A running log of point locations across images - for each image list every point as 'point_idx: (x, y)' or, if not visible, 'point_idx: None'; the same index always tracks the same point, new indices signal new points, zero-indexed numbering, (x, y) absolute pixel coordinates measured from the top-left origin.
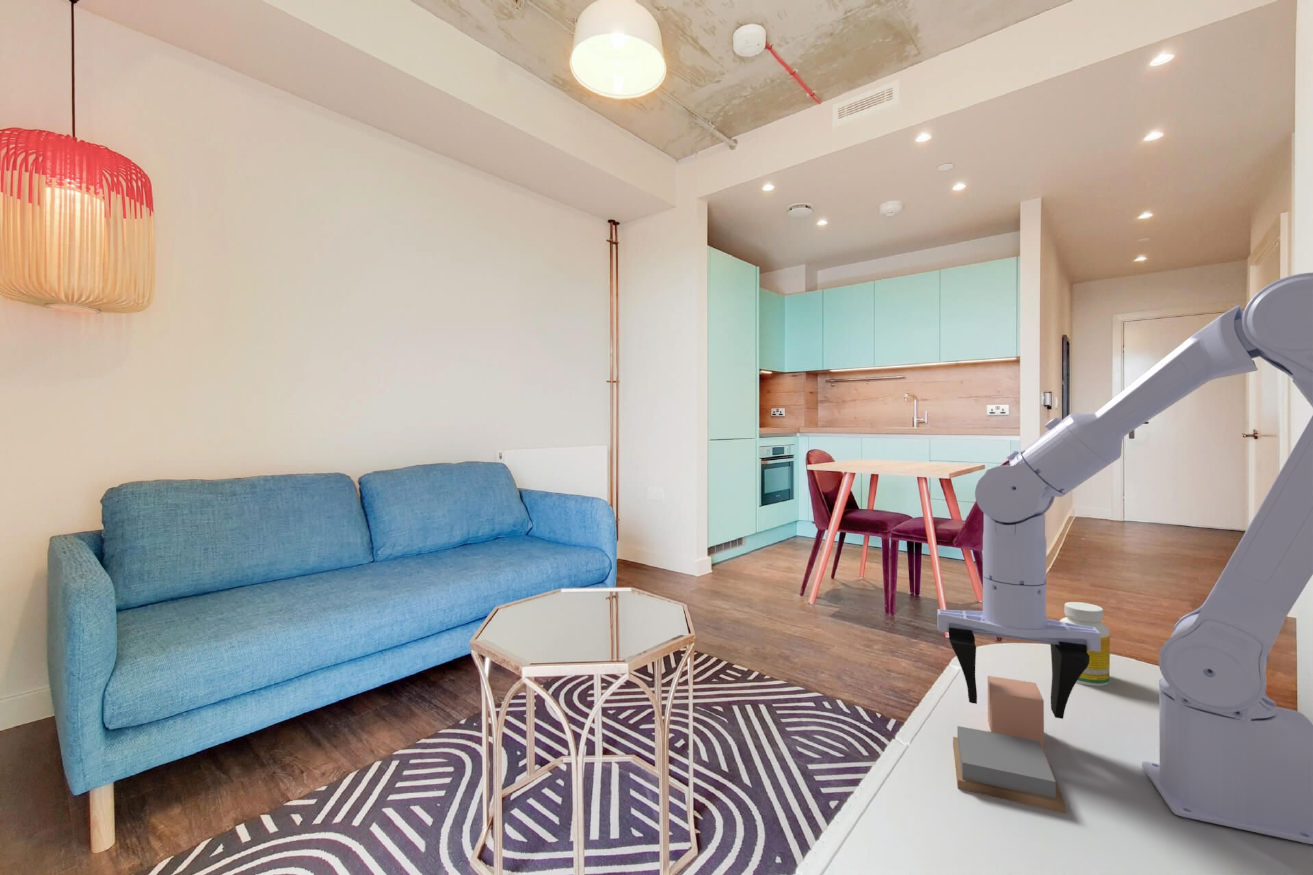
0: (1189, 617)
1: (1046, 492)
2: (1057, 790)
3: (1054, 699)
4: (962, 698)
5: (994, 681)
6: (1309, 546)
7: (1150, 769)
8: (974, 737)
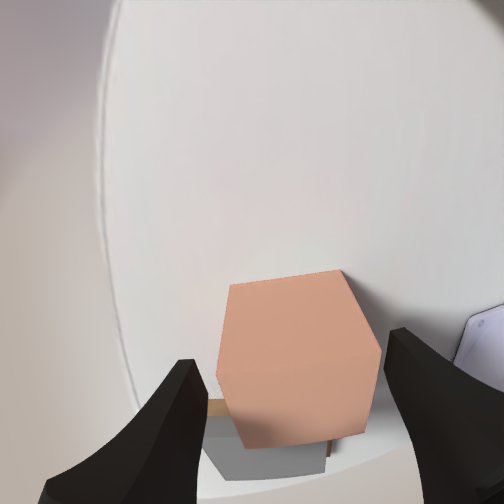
0: None
1: None
2: (328, 446)
3: (400, 384)
4: (149, 183)
5: (244, 404)
6: None
7: (468, 339)
8: (227, 451)
